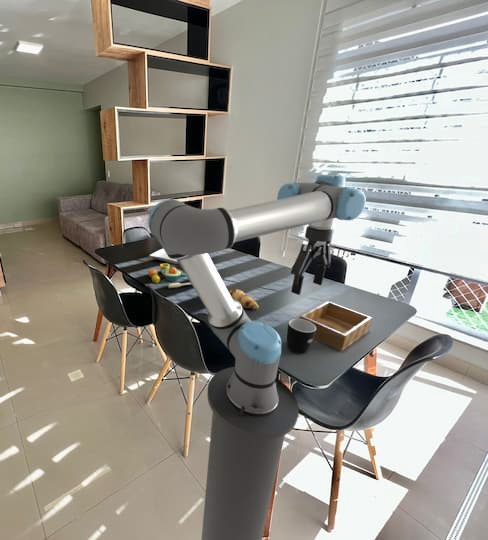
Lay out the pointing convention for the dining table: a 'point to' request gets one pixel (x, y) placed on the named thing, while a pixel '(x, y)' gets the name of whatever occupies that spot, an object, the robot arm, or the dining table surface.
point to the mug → (300, 335)
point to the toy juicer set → (168, 275)
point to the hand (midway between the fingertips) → (306, 288)
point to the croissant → (243, 299)
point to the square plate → (163, 256)
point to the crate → (337, 324)
